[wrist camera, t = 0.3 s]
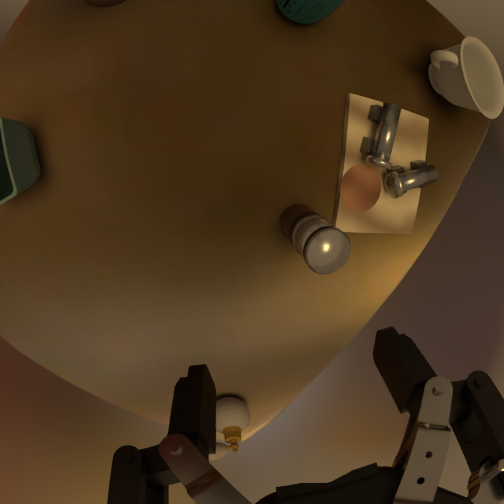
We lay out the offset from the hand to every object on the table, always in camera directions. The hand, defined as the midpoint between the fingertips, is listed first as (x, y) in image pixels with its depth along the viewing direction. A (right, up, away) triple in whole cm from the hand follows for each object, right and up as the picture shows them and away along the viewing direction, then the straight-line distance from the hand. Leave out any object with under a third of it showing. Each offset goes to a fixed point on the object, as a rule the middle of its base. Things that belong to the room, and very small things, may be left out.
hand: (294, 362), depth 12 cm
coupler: (+4, +9, +23) cm, 25 cm away
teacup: (+26, +32, +17) cm, 45 cm away
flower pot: (-31, +17, +13) cm, 38 cm away
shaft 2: (+19, +16, +21) cm, 33 cm away
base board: (+16, +16, +22) cm, 31 cm away
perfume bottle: (-7, -24, +35) cm, 44 cm away
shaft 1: (+14, +20, +18) cm, 30 cm away
